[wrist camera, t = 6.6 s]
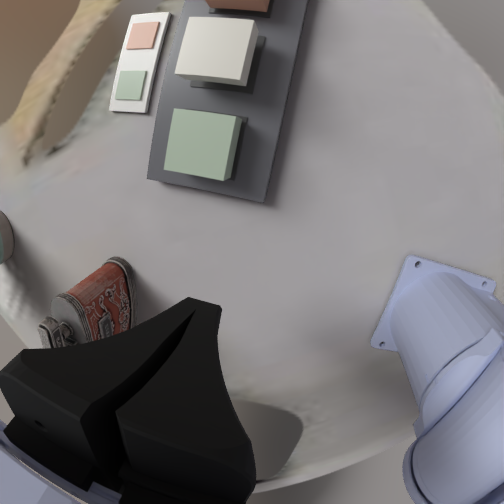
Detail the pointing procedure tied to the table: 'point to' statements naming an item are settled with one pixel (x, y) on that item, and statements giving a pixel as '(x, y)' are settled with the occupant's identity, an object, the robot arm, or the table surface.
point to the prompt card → (139, 62)
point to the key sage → (202, 143)
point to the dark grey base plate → (235, 98)
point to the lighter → (92, 307)
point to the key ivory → (217, 50)
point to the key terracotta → (240, 4)
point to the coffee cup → (5, 239)
